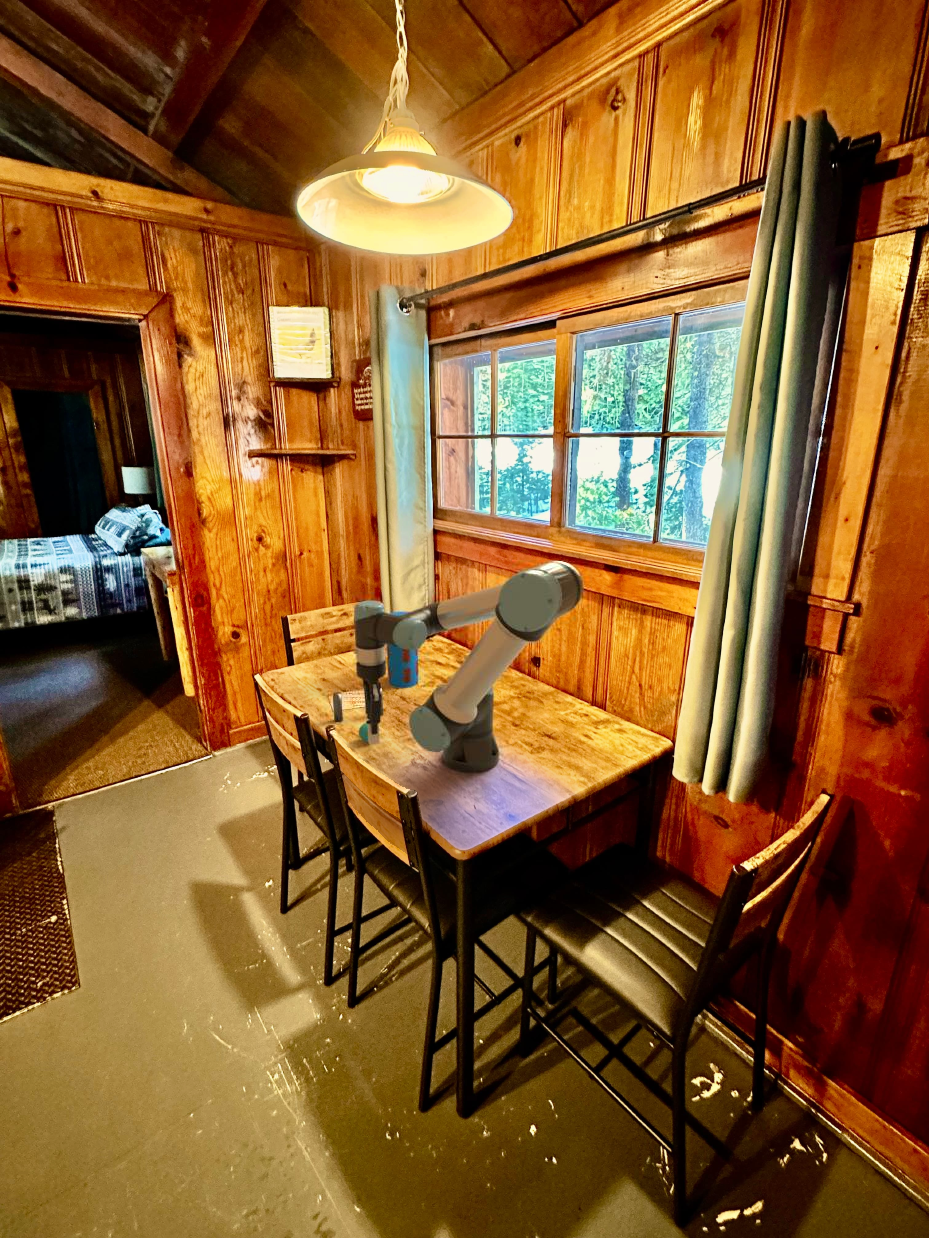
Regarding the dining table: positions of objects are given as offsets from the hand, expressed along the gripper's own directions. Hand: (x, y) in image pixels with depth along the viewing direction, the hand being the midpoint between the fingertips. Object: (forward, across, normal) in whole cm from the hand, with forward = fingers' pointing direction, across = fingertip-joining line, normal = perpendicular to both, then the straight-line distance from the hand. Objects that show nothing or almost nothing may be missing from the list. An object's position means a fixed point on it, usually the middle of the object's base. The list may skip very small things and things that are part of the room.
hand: (373, 742), depth 154 cm
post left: (+5, -25, -6) cm, 26 cm away
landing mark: (+5, -39, 0) cm, 39 cm away
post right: (+4, -25, +7) cm, 26 cm away
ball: (+2, -9, 0) cm, 9 cm away
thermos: (+5, -48, +20) cm, 52 cm away
